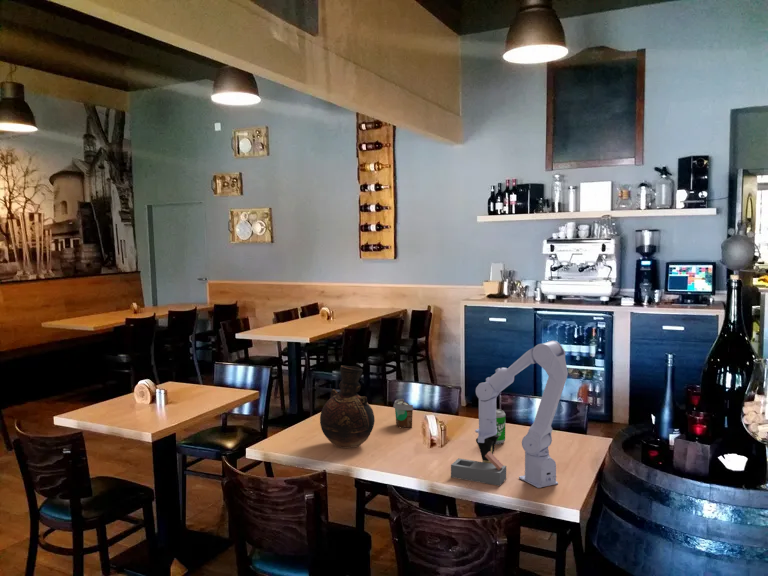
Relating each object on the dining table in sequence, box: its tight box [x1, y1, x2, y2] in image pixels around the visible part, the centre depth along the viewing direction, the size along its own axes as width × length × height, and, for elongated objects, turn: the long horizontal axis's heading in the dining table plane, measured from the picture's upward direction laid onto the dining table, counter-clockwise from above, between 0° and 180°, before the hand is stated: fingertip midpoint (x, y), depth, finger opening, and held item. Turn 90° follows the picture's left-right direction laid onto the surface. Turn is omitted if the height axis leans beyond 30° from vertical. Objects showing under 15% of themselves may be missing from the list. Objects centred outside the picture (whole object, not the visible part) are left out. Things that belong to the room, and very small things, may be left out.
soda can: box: [495, 408, 506, 445], centre depth 228 cm, size 8×8×12 cm
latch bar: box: [485, 451, 504, 470], centre depth 189 cm, size 6×3×1 cm
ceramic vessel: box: [319, 365, 376, 449], centre depth 224 cm, size 21×18×30 cm
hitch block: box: [450, 458, 507, 487], centre depth 191 cm, size 16×7×4 cm, turn 63°
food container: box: [392, 398, 414, 429], centre depth 250 cm, size 12×6×10 cm, turn 17°
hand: (487, 458), depth 199 cm, fingers closed on brass pin, 3 cm apart
